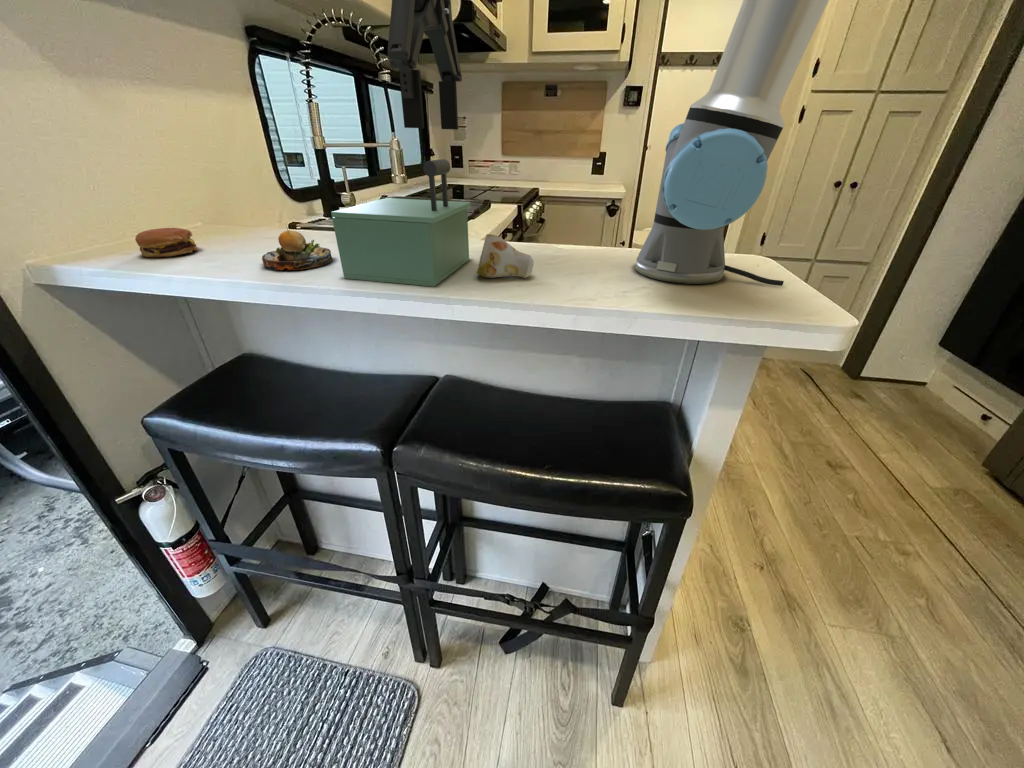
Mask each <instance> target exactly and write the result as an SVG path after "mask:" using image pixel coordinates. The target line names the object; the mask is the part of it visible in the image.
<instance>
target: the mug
mask: <svg viewBox="0 0 1024 768" xmlns="http://www.w3.org/2000/svg"><path fill="white" fill-rule="evenodd" d="M534 266H535V261H534V258H533V256H532V255H531V254H527V253H525V252H522V251H519V250H518V249H516V248H514V246H512V245H511V244H510V243H508V242H507V241H506V240H505V239H503V238H502V237H500V236H498V235H496V234H492V233H491V234H490V233H489V234H488V233H487V234H486V235H485V238H484V243H483V246H482V250H481V253H480V258H479V261H478V265H477V269H476V274H477V275H479V276H481V277H484V278H488V279H489V278H490V279H493V278H501V277H509V276H510V277H511V276H512V277H518V278H523V279H526V278H528V277H529V276H531V274H532V273H533V269H534Z"/></svg>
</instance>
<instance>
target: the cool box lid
mask: <svg viewBox="0 0 1024 768" xmlns="http://www.w3.org/2000/svg"><path fill="white" fill-rule="evenodd" d="M422 168H423V173H424V175H426V177H428V184H429V193H430V195H429V197H430V199H414V198H412V199H411V198H394V197H393V198H392V197H391V198H390V197H385V198H380V199H377V200H372V201H369V202H365V203H360V204H357V205H353V206H348V207H345V208H340V209H337V210H334V211H333V210H332V211H330V215H331V218H332V217H338V218H355V219H371V220H388V221H404V222H420V223H435V222H437V221H440V220H442V219H444V218H447V217H449V216H451V215H453V214H456V213H458V212H460V211H462V210H465V209H467V210H468V209H469V208H471V207H472V202H471V201H454V200H449V198H448V182H447V174H448V173H450V171H451V163H450V162H449V160H448V159H445V158H442V159H431V160H426V161H425V162H424V163H423V167H422ZM437 176H440V178H441V179H440V180H441V193H442V200H437V192H436V191H437V190H436V180H435V179H436V177H437Z"/></svg>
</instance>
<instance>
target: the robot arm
mask: <svg viewBox="0 0 1024 768" xmlns="http://www.w3.org/2000/svg"><path fill="white" fill-rule="evenodd" d="M828 3H829V0H742V3H741V5H740V8H739V11H738V13H737V16H736V19H735V20H734V24H733V26H732V29H731V32H730V35H729V37H728V40H727V43H726V45H725V47H724V50H723V53H722V55H721V58H720V61H719V63H718V66H717V68H716V71H715V72H714V73H715V74H714V77H713V79H712V82H711V84H710V87H709V89H708V90H707V92H706V93H705V95H703V96H702V97H700V98H699V99H698V100H696V101H695V102H693V103H691V104H690V106H689V109H688V111H687V115H686V118H685V120H684V122H683V123H679V124H678V125H677V124H676V125H675V126H674V127H673V128H672V129H671V131H670V133H669V136H668V141H667V142H666V145H665V156H664V162H663V168H662V174H661V178H660V179H661V180H660V185H659V191H658V195H657V201H656V206H655V212H654V219H653V223H652V227H651V229H650V231H649V232H648V234H647V237H646V238H645V241H644V243H643V245H642V247H641V249H640V251H639V253H638V255H637V257H636V262H635V267H634V268H635V270H636V271H637V272H638V273H639V274H641V275H643V276H645V277H648V278H651V279H654V280H657V281H661V282H662V281H663V282H669V283H674V284H685V285H686V284H688V285H701V284H703V285H704V284H712V283H715V282H718V281H720V280H722V279H723V277H724V273H725V272H729V273H732V274H735V275H739V276H741V277H744V278H748V279H750V280H753V281H756V282H758V283H762V284H765V285H771V286H779V287H783V285H784V282H785V281H784V280H779V279H773V278H772V279H770V278H767V277H763V276H760V275H757V274H754V273H752V272H750V271H746V270H742V269H740V268H736V267H733V266H730V265H726V256H725V253H726V252H725V240H724V230H725V226H728V225H731V224H733V223H734V222H736V221H737V220H739V219H740V218H742V217H743V216H744V215H745V214H746V213H748V212H749V211H750V209H752V207H754V205H755V204H756V202H757V201H758V199H759V197H760V195H761V193H762V192H763V189H764V187H765V183H766V180H767V173H768V161H769V158H770V156H771V154H772V152H773V150H774V148H775V146H776V144H777V143H778V140H779V138H780V135H781V133H782V131H783V129H784V127H785V122H784V121H783V118H782V114H781V111H780V107H781V103H782V101H783V99H784V97H785V95H786V93H787V90H788V89H789V86H790V84H791V82H792V79H793V78H794V75H795V73H796V71H797V69H798V67H799V65H800V63H801V60H802V58H803V57H804V55H805V52H806V50H807V48H808V45H809V43H810V42H811V40H812V37H813V36H814V33H815V31H816V29H817V26H818V24H819V22H820V20H821V18H822V16H823V15H824V14H823V13H824V12H825V9H826V7H827V6H828ZM454 27H455V26H454V21H453V12H452V0H391V8H390V20H389V31H388V42H387V58H388V59H389V66H390V68H391V69H392V70H398V76H399V78H398V79H399V86H400V87H399V88H400V96H401V107H402V115H403V116H402V117H403V126H404V127H403V128H404V129H425V117H424V104H423V90H422V78H421V70H420V69H416V68H417V65H418V60H419V56H420V51H421V47H422V43H423V40H424V39H423V38H424V35H425V36H426V37H428V39H429V43H430V46H431V49H432V53H433V55H434V56H433V57H434V60H435V63H436V67H437V69H438V73H439V77H440V81H438V92H439V93H438V95H439V111H440V112H439V113H440V127H441V130H459V116H458V113H459V112H458V93H457V92H458V91H457V90H458V89H457V82H459V83H460V82H462V81H463V75H462V70H461V64H460V58H459V53H458V52H459V51H458V45H457V39H456V34H455V28H454Z"/></svg>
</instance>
